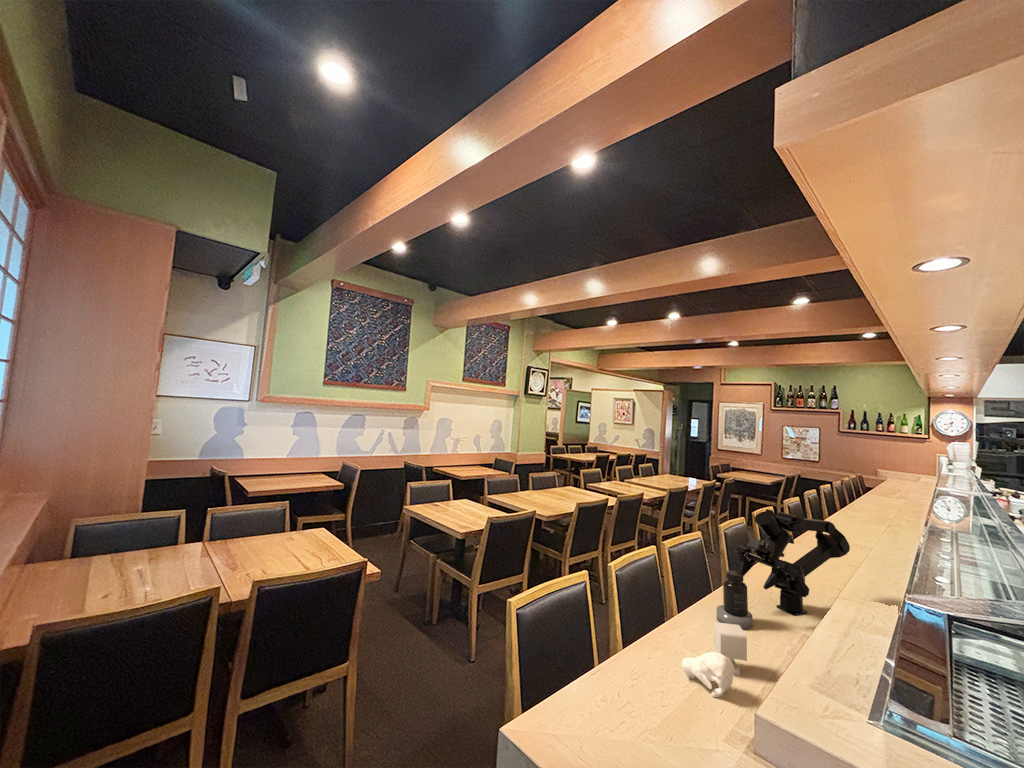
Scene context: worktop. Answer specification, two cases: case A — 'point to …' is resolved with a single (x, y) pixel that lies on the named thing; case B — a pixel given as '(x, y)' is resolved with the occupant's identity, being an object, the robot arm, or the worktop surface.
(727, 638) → the security camera
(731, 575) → the supplement bottle
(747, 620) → the stand
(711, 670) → the white toy
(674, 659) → the worktop surface
